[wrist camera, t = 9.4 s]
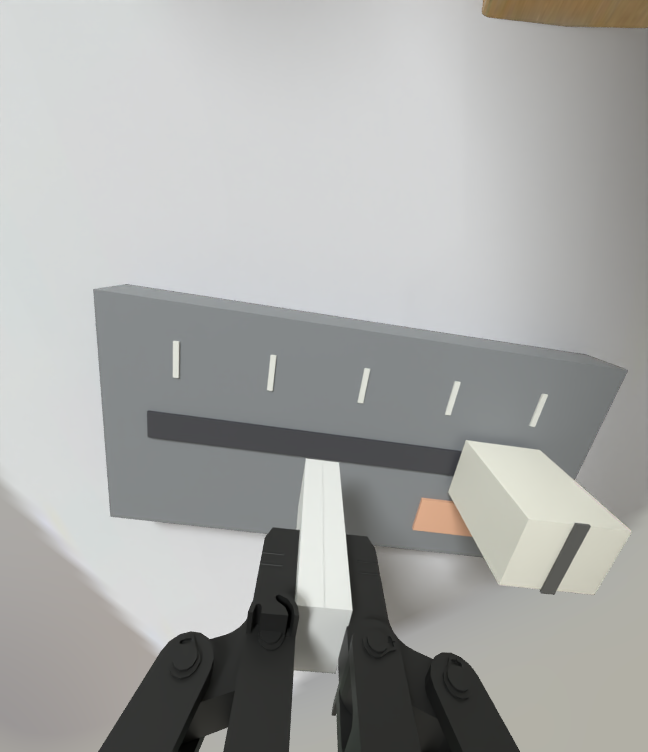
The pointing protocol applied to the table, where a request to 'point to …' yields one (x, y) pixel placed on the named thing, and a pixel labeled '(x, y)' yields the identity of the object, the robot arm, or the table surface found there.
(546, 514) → the fader knob
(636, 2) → the sandwich container
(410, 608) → the table surface
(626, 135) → the table surface
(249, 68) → the table surface
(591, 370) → the fader console
